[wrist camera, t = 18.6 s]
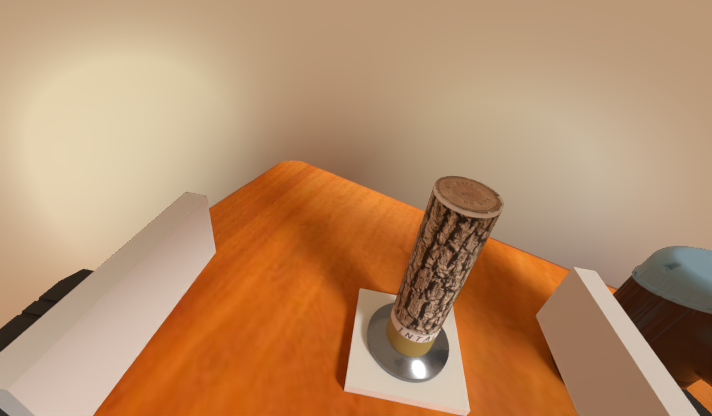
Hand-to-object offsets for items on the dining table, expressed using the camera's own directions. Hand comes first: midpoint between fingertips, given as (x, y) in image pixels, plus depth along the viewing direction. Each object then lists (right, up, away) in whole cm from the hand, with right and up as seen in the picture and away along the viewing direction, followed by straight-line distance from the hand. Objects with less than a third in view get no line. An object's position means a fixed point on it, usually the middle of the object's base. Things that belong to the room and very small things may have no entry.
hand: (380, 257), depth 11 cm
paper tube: (+7, -17, +33) cm, 38 cm away
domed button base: (+6, -19, +34) cm, 40 cm away
